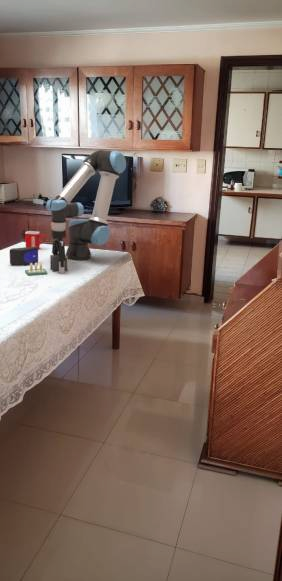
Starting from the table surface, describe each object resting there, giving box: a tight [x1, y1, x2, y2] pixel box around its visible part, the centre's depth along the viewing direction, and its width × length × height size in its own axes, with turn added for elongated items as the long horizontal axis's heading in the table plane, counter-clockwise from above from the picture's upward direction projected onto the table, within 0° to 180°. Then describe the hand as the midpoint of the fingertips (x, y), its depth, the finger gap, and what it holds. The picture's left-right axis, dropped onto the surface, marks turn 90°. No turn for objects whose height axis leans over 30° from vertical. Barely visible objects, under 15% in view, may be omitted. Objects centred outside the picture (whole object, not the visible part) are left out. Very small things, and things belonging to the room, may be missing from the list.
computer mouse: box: [9, 246, 39, 267], centre depth 250 cm, size 16×5×9 cm, turn 123°
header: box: [24, 261, 48, 277], centre depth 236 cm, size 10×7×6 cm
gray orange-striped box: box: [49, 254, 68, 273], centre depth 243 cm, size 8×5×8 cm, turn 116°
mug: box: [24, 230, 46, 250], centre depth 285 cm, size 12×8×11 cm
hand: (58, 269), depth 245 cm, fingers open, 11 cm apart
